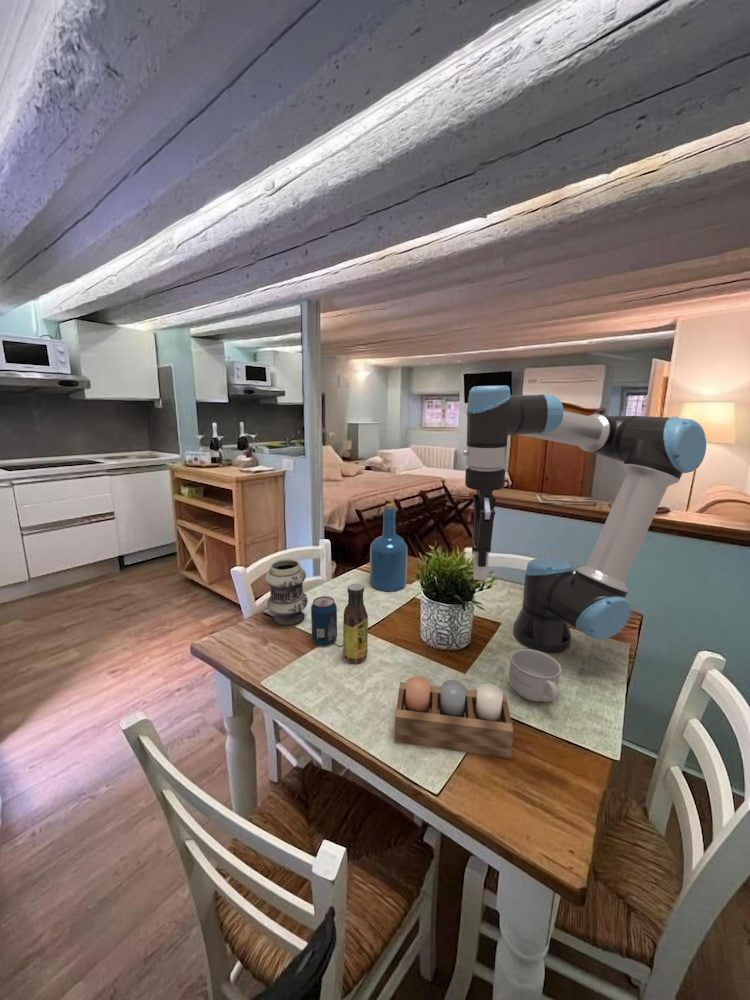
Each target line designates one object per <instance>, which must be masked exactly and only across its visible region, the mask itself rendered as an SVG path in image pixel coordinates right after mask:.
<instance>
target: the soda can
mask: <svg viewBox="0 0 750 1000" xmlns="http://www.w3.org/2000/svg"><path fill="white" fill-rule="evenodd" d="M337 608H338V607H337V604H336V602H335V599H334V598H333V597H331V596H327V595H326V596H318V597H316V598H314V599H313V601H312V604H311V607H310V615H311V619H310V620H311V622H310V623H311V639H312V641H313V642H314V643H315V645H317V646H320V647H328V646H331V645H332V644H334V643H335V641H336V640H337V638H338V609H337Z"/></svg>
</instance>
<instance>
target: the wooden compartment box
mask: <svg viewBox="0 0 750 1000" xmlns="http://www.w3.org/2000/svg"><path fill="white" fill-rule="evenodd" d="M507 699H508V698H507V694H506V693H503V698H502V708H501V718H500V722H495V721H487V720H480V719H476V718H475V712H476V700H477V690H473V689H466V696H465V709H464V717H456V716H448V715H440V700H441V686H438V685H431V684H430V698H429V713H424V712H416V711H408V710H405V703H406V681H403V682H402V681H400V682H399V688H398V695H397V701H396V708H395V709H396V710H395V714H394V739H393V740H394V741H393V742H394V743H396V744H404V745H411V746H418V747H425V748H433V749H442V750H446V751H447V750H449V751H454V752H455V751H456V752H462V753H469V754H477V755H484V756H491V757H500V758H505V759H511V758H512V750H513V741H514V731H515V730H514V728H513V722H512V718H511V713H510V707H509V704H508V700H507Z"/></svg>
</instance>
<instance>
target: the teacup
mask: <svg viewBox="0 0 750 1000" xmlns="http://www.w3.org/2000/svg"><path fill="white" fill-rule="evenodd" d="M561 674H562V666H561V665H560V663H559V662H558V661H557V660H556V659H555V658H554V657H552V656H551V655H549V654H547V653H546V652H541V651H537V650H534V649H531V648H529V649H528V648H521V649H517V650H514V651H513V652H512V653H511V654H510V663H509V671H508V679H509V682H510V684H511V687H512V689H514V690H515V691H516V692H517V694H518V695H520V696H521V697H522V698H524V699H526V700H527V701H528V700H529V701H531V702H532V701H533V702H542V701H543V702H555V701H556V702H557V701H558V699H559V697H560V689H559V686H558V685H559V681H560V676H561Z"/></svg>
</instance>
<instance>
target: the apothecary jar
mask: <svg viewBox="0 0 750 1000" xmlns="http://www.w3.org/2000/svg"><path fill="white" fill-rule="evenodd" d="M269 568H270V569H269V570H268V571H267V572H266V575H265V583H266V584H267V585H268V586H269V588H270V589H269V590H270V596H269V597H268V599H267V601H266V607H267V609H268V611H270V612H271V613H272V614H273V616H272V618H271V623H272V624H273V625H274V626H276V627H277V628H282V629H284V628H293V627H296V626H298V625H300V624H302V623H303V622H304V621H305V618H306V615H305V614H304V612H303V611H304V610H305V608H306V607H307V605H308V602H309V599H308V596H307V595H306V593H305V592H304V591H303V590H304V589H303V583H304V582H305V580H306V577H307V573H306V571H305V569H304V568H302V567H301V565H300V561H298V560H297V559H292V558H286V559H285V558H284V559H278V560H276V561H273V562H272V563H271V564H270V567H269Z"/></svg>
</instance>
